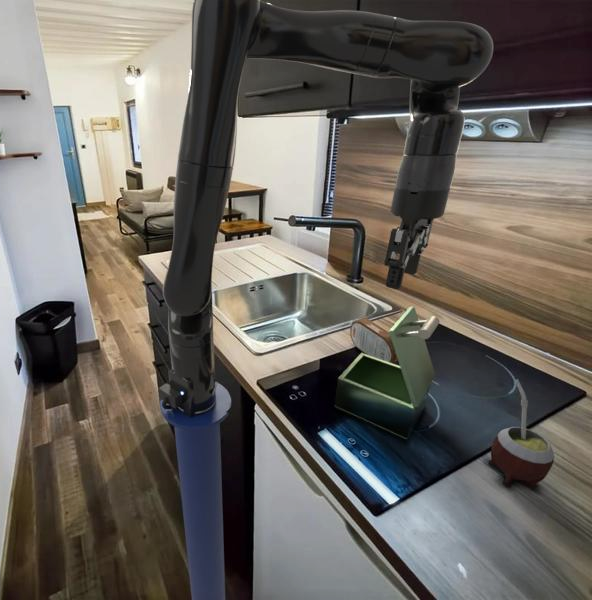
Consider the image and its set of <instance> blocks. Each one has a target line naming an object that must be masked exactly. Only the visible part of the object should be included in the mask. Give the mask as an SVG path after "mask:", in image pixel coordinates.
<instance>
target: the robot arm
mask: <svg viewBox="0 0 592 600" xmlns="http://www.w3.org/2000/svg"><path fill="white" fill-rule="evenodd" d="M190 51H191V52H190V73H189V75H190V76H189V86H188V87H189V88H188V94H187V100H186V106H185V110H184V116H183V121H182V128H181V135H180V141H179V148H178V154H177V161H176V162H177V163H176V171H175V181H174V194H173V239H172V247H171V252H170V258H169V263H168V266H167V267H168V268H167V271H166V273H165V276H164V281H163V285H162V296H163V300H164V303H165V304H166V306H167V309H168V311H167V314H168V315H167V317H168V319H167V331H168V342H169V351H170V362H171V369H170V370H168V380H169V383H167V382H166V383H164V384H163V385H162V386H160V387H158V395H159V400H163V403H162V407H163V408H164V409H169V410H170V409H171V408H172V407H173V408H175V409H178V410H179V411H181V412H183V413H184V414H186V415H187V416H189V417H191V418H192V417H193V416H195V415H200V414H204V413H207V412H208V411H210V410H211V409H212V408H213V407H214V406H215V404H216V393H215V389H216V386H217V383H218V381H216V372H215V371H216V369H215V344H214V341H215V340H214V311H213V309H214V308H213V281H212V280H213V279H212V278H213V268H214V267H213V265H214V255H215V248H216V243H217V239H218V235H219V232H220V228H221V225H222V222H223V219H224V213H225V210H226V205H227V201H228V197H229V192H230V188H231V181H232V176H233V171H234V165H235V159H236V151H237V150H236V149H237V135H238V133H237V132H238V104H239V95H240V88H241V81H242V78H243V74H244V70H245V65H246V62H247V59H248V60H254V59H255V60H274V61H275V60H276V61H284V62H285V61H286V62H295V63H300V64H306V65H310V66H315V67H319V68H324V69H328V70H333V71H338V72H343V73H348V74H353V75H356V76H357V75H358V76H363V77H368V78H373V79H383V80H385V79H396V78H399V79H405V80H410V84H409V85H410V86H409V87H410V88H409V125H408V128H407V132H406V137H405V143H404V148H403V154H402V157H401V159H400V160H401V161H400V163H399V166H398V171H397V174H396V180H395V185H394V189H393V194H392V200H391V205H390V213H391V214H392V215H393V216H395V217H399V218H400V219H401V221H400V224H399V226H396V228H395V227H394V228H391V231H390V234H389V235H390V236H389V239H388V244H387V249H386V254H385V259H384V262H383V263H384V264H383V265H384V266H388V271H387V276H386V281H385V287H386V288H388V289H389V288H390V289H394V290H399V289H401V287H402V284H403V279H404V275H405V274H406V275H407V274H408V275H412V276H414V275H415V274H417V273H418V269H419V264H420V261H421V256H422V255H423V253H424V252H425V249H426V248H427V247H428V246H429V240H430V236H431V231H432V226H433V222H434V220H435V219H439V218H441V217H443V216H444V214H445V210H446V208H447V204H448V201H449V200H448V199H449V195H450V191H451V187H452V184H453V179H454V177H455V171H456V166H457V165H456V164H457V156H458V152H459V148H460V143H461V140H462V136H463V133H464V132H463V131H464V127H465V114H464V112H463V111H462V110H460V108H459V100H460V92H461V87H463V86H466V85H468V84H470V83H471V82H473V81H474V80H476V79H477V78H478V77H480V75H481V74H483V73H484V72H485V70H486V69H487V67H488V66H489V64H490V62H491V60H492V58H493V54H494V41H493V38H492V36H491V35H490V33H489V32H488V31H487V29H485V28H484V27H482V26H480V25H477V24H474V23H470V22H466V21H465V22H464V21H455V20H454V21H453V20H411V19H410V20H409V19H404V18H401V17H398V16H392V15H386V14H381V13H377V12H376V13H375V12H370V11H362V10H352V9H351V10H350V9H349V10H347V9H343V10H342V9H339V10H338V9H337V10H317V11H312V10H307V11H306V10H297V9H289V8H285V7H280V6H277V5H273V4H271V3H268V2H266V1H263V0H193V3H192V10H191V49H190ZM397 255H399V257H398V259H396V257H397ZM215 382H216V385H215ZM166 404H169V405H166Z"/></svg>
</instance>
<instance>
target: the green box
mask: <svg viewBox="0 0 592 600" xmlns="http://www.w3.org/2000/svg"><path fill="white" fill-rule="evenodd" d="M431 385H432V383H431V384H430V386H429V388H428V390H427V392H426V393H425V395H424V397H423V399H422V401H421V402H420V404H419V406H418V407H413V405H412V402H411V399H410V396H409V393H408V390H407V387H406V383H405V380H404V377H403V374H402V371H401V368H400V365H398V364H396V365H395V364H392V363H390V362H387V361H384V360H381V359H378V358H375V357H372V356H369V355H366V354H365V353H363V352H361V353H359V354H358V356H357V357H356V358H355V359H354V360H353V361H352V363H351V364H349V366H348V367H346V369H345V370H344V371H343V372H342V374H341V375H340V376H339V377H338V378H337V385H336V391H335V392H336V393H335V399H334V406H333V409H334V410H336V411H339V413H343V414H345V415H346V416H349V417H351V418H353V419H356V420H357V421H359V422H362V423H364V424H366V425H369V426H371V427H372V428H375V429H377V430H379V431H381V432H383V433H386V434H388V435H390V436H392V437H394V438H396V439H398V440H401V441H403V442H405V443H406V442H408V440H409V437H410V436H411V434H412V432H413V430H414V429H415V426H416V424H417V423H418V421H419V419H420V417H421V415H422V413H423V412H424V410H425V407H426V403H427V399H428V395H429V392H430V389H431Z"/></svg>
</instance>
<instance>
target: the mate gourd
mask: <svg viewBox="0 0 592 600" xmlns="http://www.w3.org/2000/svg"><path fill="white" fill-rule="evenodd" d="M514 382H515V384H516V386H517V389H518V391H519V394H520V397H521V399H520V406H521V423H520V424H521V427H520V426H511V427H506V428H504V429H502V430H500V431H499V432H498V433H497V435H496V436H495V437H494V439H493V440H492V443H491V448H490V459H489V460H488V462H487V464H488V466H490V467H492V468H494V469H496V470H498V471H499V472H501V473H503V474H505V477H504V478H503V480H502V481H501V485H502V486H504V487H506V488H509V486H511V485H510V484H511V483H512V482H513V480H515V481H518V482H519V483H521V484H523V485H525V486H527V487H528V488H531V489H532V490H536V489H538V484H539V483H540V482H542V481H543V480H544V479H546V477H547V476H548V474H549V472H550V471H551V469H552V467H553V466H554V465H553V464H554V462H555V454H554V453H555V452H554V451H553V448H552V445H551V444H550V442H549V441H548V440H547V439H546V438H545V437H544V436H542V435H541V434H539V433H538V432H536V431H534V430H531V429H529V428H527V417H528V407H529V400H528V399H527V396H526V392H525V390H524V388H523V386H522V384H521V382H520V380H519V379H518V378H515V379H514Z"/></svg>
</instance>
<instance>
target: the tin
mask: <svg viewBox="0 0 592 600" xmlns="http://www.w3.org/2000/svg"><path fill="white" fill-rule="evenodd" d="M349 328H350V329H349V333H350V339H351V341H352V343H353V345H354V346H355V347H356V348H357V349H358V350H359V351H360V352H361V353H363V354H366V355H369V356H372V357H375V358H378V359H381V360H384V361H387V362H390V363H392V364H395V365H398V364H399V362H398V358H397V355H396V352H395V349H394V346H393V343H392V340H391V337H390V333H389V330H387V329H386V328H384V327H382V326H380V325H378V324H377V323H375V322H374V321H372V320H371V319H369V318H366V317H361V318H360V319H357V320H354V321H353V322H352V323H351V324H350V327H349Z"/></svg>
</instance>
